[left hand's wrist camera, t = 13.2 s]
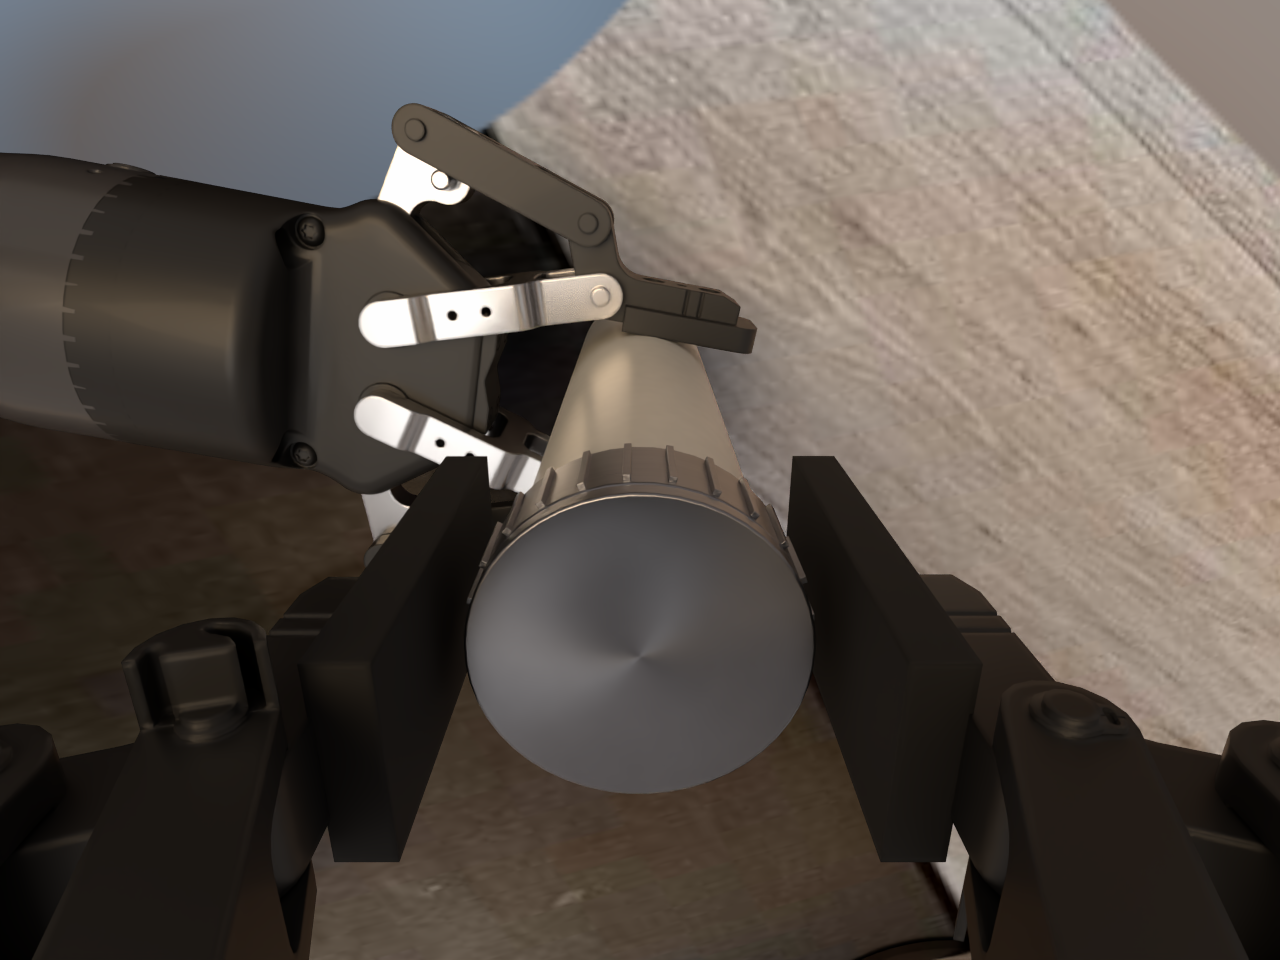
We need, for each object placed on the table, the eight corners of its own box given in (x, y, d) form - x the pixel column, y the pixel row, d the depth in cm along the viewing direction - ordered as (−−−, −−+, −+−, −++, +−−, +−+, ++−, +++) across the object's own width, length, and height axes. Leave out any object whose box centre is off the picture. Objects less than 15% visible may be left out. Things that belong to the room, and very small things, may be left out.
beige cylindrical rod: (667, 278, 28) (716, 440, 10) (714, 382, 29) (829, 686, 11) (563, 329, 28) (436, 564, 11) (613, 428, 30) (575, 783, 12)
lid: (419, 546, 12) (381, 609, 10) (690, 377, 11) (701, 413, 9) (597, 760, 13) (590, 847, 12) (849, 628, 12) (884, 701, 11)
